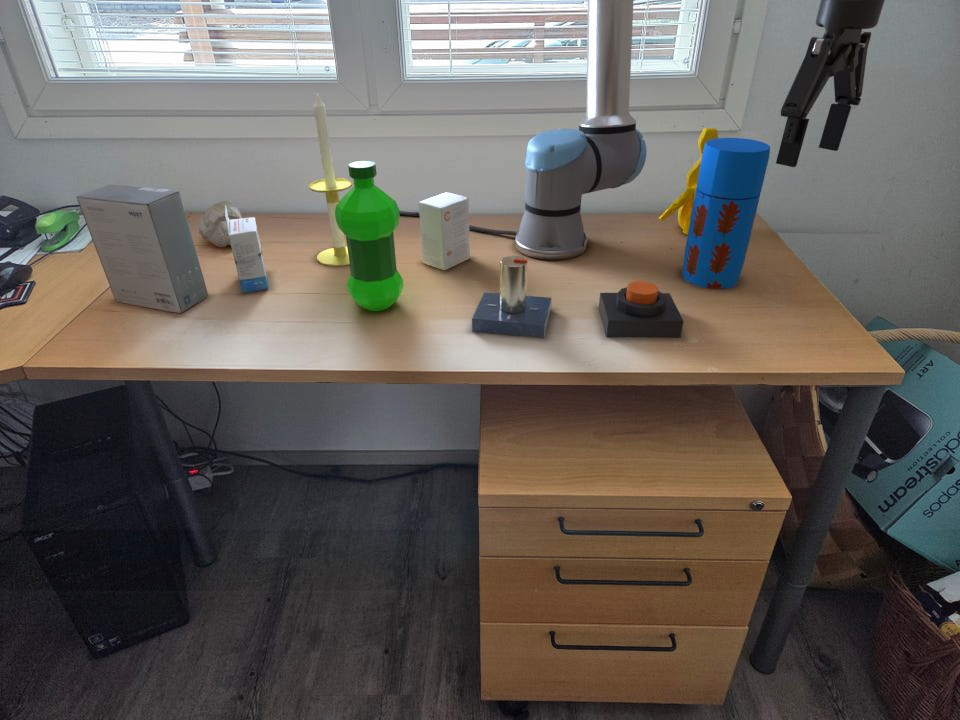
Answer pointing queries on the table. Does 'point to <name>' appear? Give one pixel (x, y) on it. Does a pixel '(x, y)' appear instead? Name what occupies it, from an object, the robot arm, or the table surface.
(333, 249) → the candle
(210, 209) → the fossil replica
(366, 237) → the plastic bottle
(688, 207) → the figure statuette
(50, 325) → the table surface
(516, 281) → the dial knob
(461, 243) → the small box
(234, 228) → the ink box
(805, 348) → the table surface
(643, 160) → the robot arm
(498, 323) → the dial panel
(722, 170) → the thermos
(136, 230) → the hard drive box
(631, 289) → the button
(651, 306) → the black button base
